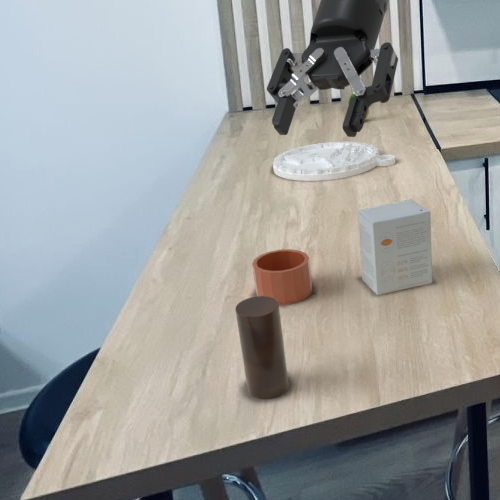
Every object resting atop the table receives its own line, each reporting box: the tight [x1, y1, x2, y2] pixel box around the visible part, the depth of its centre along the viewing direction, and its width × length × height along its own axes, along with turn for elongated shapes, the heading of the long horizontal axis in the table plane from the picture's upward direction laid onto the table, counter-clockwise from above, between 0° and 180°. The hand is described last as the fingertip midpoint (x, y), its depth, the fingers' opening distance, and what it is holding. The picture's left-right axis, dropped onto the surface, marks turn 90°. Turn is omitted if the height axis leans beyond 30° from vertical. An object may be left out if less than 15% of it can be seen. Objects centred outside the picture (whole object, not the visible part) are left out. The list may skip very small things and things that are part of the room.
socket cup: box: [251, 248, 313, 306], centre depth 89 cm, size 8×8×5 cm
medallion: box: [272, 140, 396, 182], centre depth 145 cm, size 24×27×2 cm
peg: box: [234, 295, 290, 400], centre depth 68 cm, size 4×4×10 cm
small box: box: [357, 198, 433, 296], centre depth 87 cm, size 8×6×10 cm
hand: (313, 132), depth 71 cm, fingers open, 8 cm apart
